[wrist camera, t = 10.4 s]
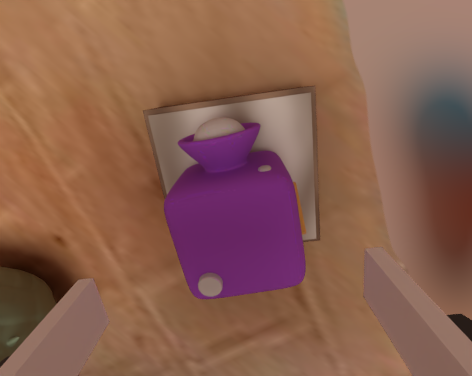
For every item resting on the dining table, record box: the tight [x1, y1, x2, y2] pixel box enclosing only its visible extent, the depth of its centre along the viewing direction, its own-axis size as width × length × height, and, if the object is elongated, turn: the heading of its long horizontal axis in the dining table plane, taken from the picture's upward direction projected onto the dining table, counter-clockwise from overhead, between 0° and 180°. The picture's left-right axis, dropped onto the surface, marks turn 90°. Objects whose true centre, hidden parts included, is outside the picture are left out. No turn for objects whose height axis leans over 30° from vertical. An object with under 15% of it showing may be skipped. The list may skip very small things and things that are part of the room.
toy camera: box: [164, 117, 306, 299], centre depth 22 cm, size 11×14×10 cm
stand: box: [143, 86, 320, 242], centre depth 29 cm, size 16×16×5 cm
